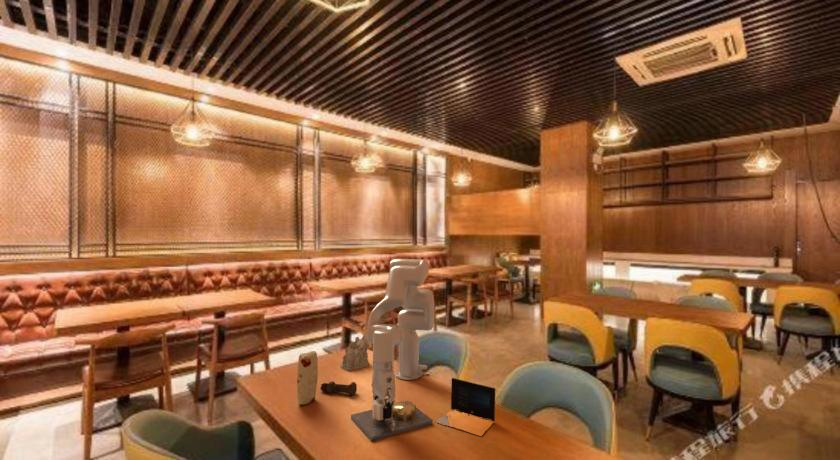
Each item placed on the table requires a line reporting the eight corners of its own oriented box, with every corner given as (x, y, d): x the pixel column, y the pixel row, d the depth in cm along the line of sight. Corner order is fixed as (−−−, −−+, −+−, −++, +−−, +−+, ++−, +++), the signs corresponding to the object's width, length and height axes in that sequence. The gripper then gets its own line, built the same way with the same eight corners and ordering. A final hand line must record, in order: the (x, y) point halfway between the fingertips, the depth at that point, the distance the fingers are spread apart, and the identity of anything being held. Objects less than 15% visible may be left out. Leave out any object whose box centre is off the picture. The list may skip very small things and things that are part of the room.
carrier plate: (407, 404, 157) (408, 387, 157) (432, 424, 142) (432, 404, 142) (351, 418, 145) (351, 399, 145) (371, 441, 130) (372, 420, 130)
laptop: (435, 424, 143) (436, 388, 143) (451, 410, 154) (451, 377, 154) (481, 438, 134) (482, 400, 134) (495, 423, 144) (495, 388, 144)
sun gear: (401, 406, 152) (401, 398, 152) (420, 413, 147) (420, 405, 147) (386, 415, 145) (386, 407, 145) (405, 422, 140) (405, 414, 140)
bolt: (322, 395, 170) (355, 397, 166) (317, 393, 166) (351, 396, 162) (325, 380, 173) (357, 383, 169) (320, 378, 168) (353, 381, 165)
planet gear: (386, 409, 146) (386, 395, 146) (395, 417, 140) (395, 403, 140) (368, 413, 143) (369, 400, 143) (377, 422, 137) (377, 407, 137)
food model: (305, 408, 152) (306, 356, 152) (291, 405, 155) (292, 354, 155) (321, 398, 162) (322, 349, 161) (308, 395, 164) (308, 347, 164)
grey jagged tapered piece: (357, 356, 215) (357, 329, 214) (374, 365, 203) (374, 337, 202) (331, 364, 205) (331, 335, 204) (347, 374, 193) (347, 344, 192)
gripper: (404, 370, 136) (403, 421, 136) (381, 356, 151) (380, 402, 151) (384, 374, 132) (383, 427, 132) (363, 359, 147) (362, 406, 147)
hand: (382, 413), depth 142 cm, fingers open, 7 cm apart
